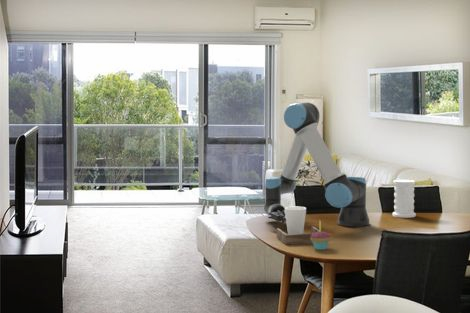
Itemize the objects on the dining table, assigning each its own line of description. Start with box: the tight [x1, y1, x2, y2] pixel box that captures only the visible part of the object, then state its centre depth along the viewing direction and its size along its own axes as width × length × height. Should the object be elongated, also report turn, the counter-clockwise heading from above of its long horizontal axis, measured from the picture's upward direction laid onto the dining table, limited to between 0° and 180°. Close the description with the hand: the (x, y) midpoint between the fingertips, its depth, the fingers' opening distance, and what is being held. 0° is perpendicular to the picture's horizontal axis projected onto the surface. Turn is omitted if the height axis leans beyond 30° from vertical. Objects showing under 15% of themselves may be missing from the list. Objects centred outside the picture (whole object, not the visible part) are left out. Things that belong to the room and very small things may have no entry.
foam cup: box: [284, 205, 307, 235], centre depth 329 cm, size 10×9×13 cm
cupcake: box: [310, 220, 332, 251], centre depth 305 cm, size 9×8×12 cm
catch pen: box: [276, 226, 319, 245], centre depth 323 cm, size 16×17×4 cm
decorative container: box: [392, 179, 417, 219], centre depth 379 cm, size 12×12×18 cm
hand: (289, 221), depth 333 cm, fingers closed
